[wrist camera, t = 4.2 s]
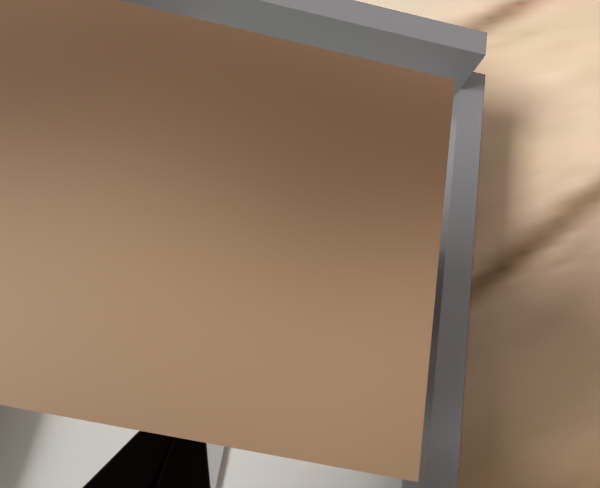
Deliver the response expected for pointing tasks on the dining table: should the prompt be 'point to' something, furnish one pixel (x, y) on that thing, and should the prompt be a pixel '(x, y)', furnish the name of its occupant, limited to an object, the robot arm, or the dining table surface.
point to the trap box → (450, 276)
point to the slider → (218, 233)
